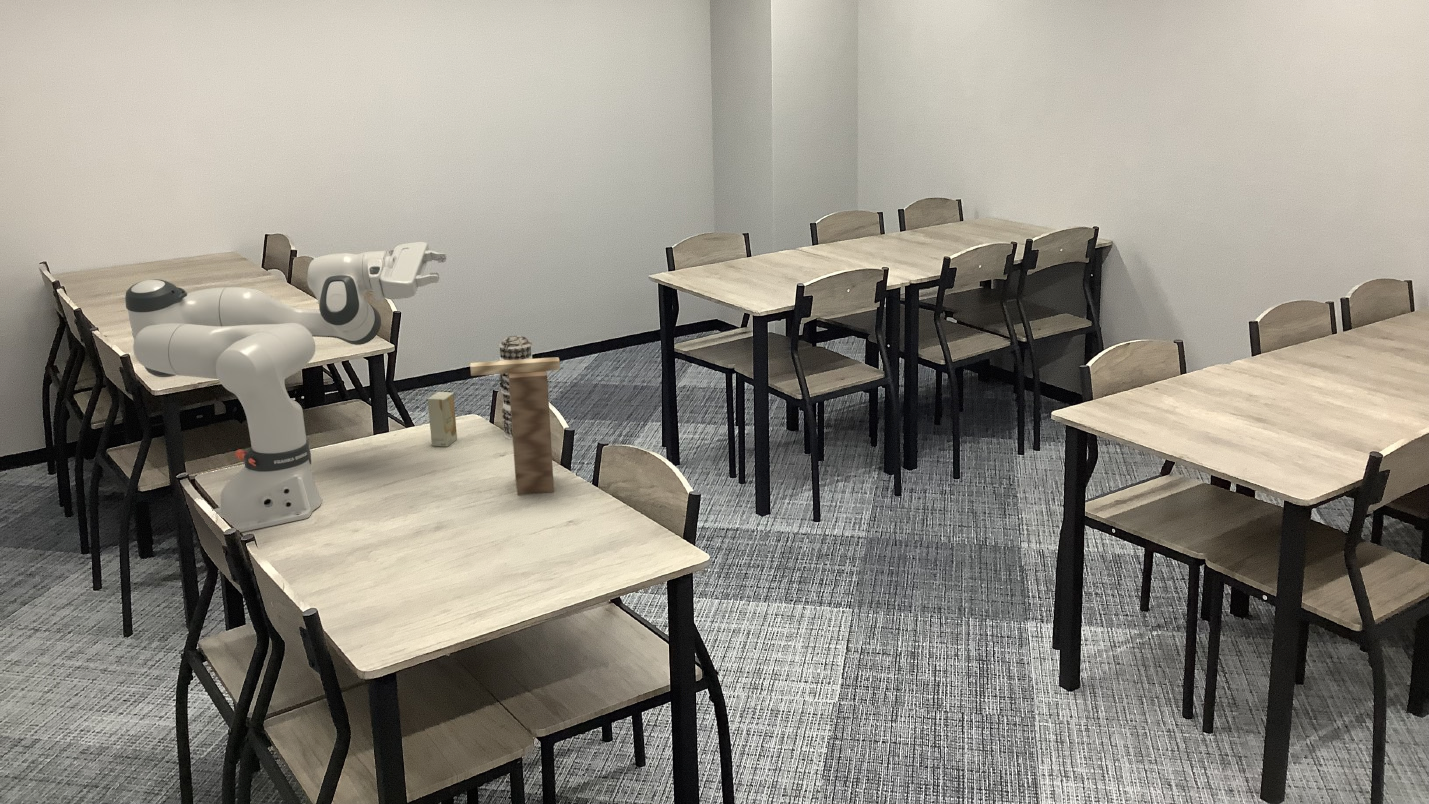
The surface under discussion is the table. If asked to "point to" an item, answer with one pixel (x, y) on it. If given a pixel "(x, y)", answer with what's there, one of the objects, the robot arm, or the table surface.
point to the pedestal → (531, 432)
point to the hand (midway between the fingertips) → (442, 267)
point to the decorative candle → (508, 351)
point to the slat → (515, 366)
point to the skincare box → (442, 419)
